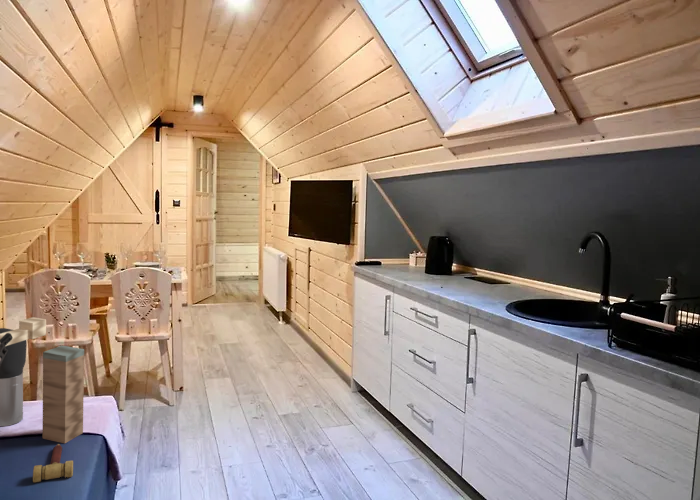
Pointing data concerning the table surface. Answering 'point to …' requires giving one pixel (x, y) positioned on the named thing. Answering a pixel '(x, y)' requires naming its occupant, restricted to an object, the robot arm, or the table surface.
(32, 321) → the maple key
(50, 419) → the teal-capped wooden post
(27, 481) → the table surface
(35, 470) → the gavel
